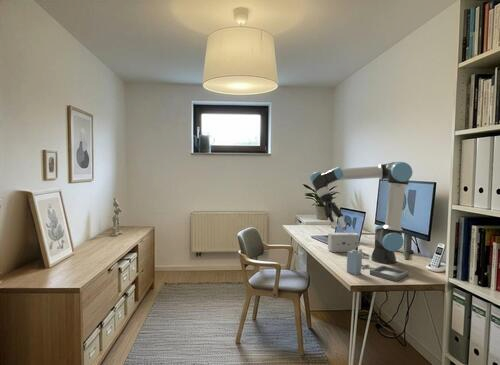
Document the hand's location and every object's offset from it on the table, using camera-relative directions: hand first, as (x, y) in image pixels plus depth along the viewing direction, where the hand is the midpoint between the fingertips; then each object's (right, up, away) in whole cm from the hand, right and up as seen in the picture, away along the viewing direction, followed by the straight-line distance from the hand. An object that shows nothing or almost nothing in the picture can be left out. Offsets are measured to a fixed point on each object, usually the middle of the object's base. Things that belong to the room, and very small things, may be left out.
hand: (340, 227), depth 197 cm
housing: (+25, -26, -9) cm, 37 cm away
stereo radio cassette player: (+14, -24, +44) cm, 51 cm away
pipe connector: (+15, -25, +10) cm, 31 cm away
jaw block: (+6, -26, -6) cm, 27 cm away
